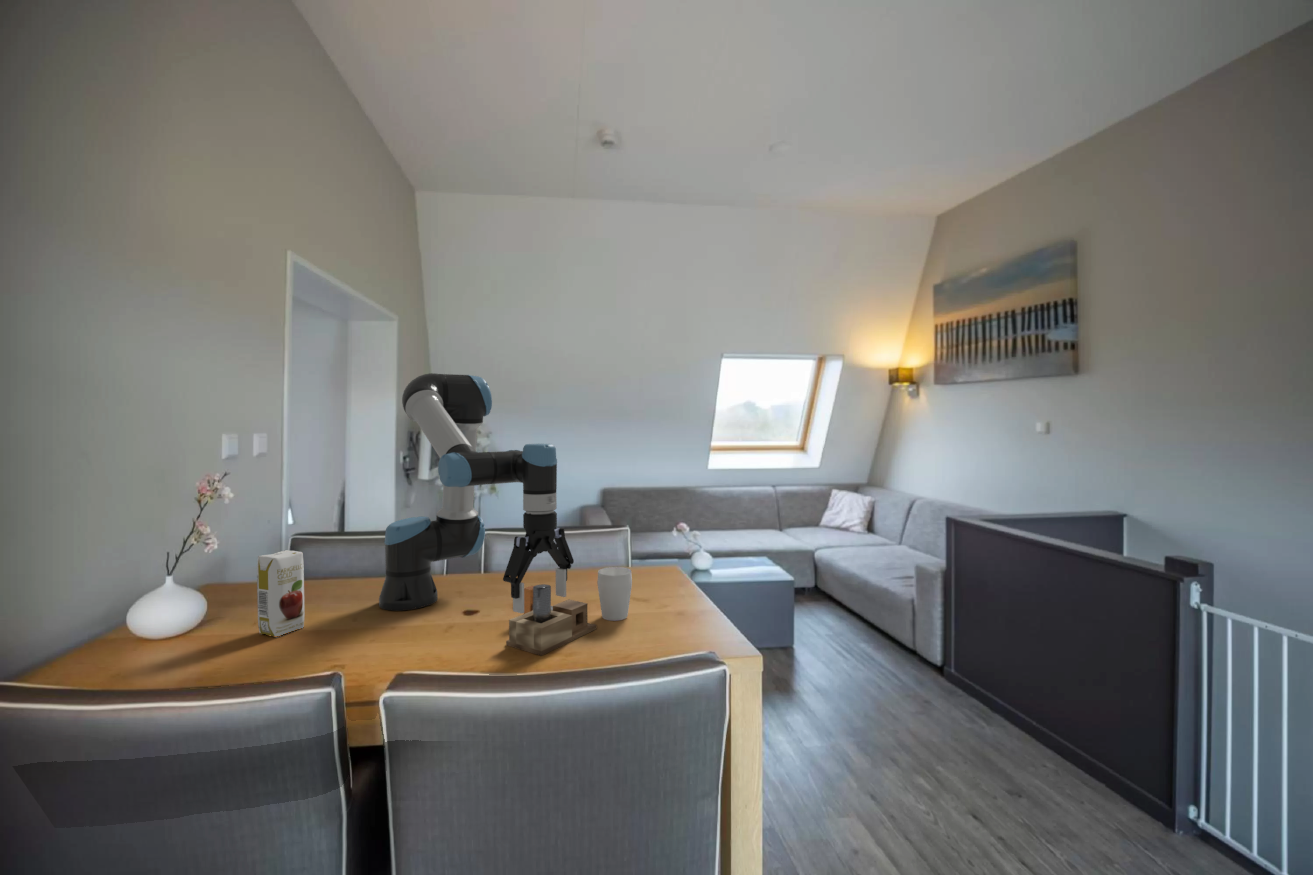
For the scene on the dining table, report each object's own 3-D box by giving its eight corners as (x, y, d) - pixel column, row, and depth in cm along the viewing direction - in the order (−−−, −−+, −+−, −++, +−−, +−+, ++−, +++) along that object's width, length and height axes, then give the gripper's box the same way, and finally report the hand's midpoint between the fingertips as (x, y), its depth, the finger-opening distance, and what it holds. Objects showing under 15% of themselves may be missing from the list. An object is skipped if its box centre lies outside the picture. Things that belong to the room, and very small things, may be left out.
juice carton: (253, 635, 136) (251, 556, 135) (288, 623, 144) (286, 548, 143) (275, 639, 133) (273, 559, 132) (309, 627, 141) (308, 551, 140)
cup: (627, 623, 143) (627, 576, 143) (593, 621, 145) (592, 574, 145) (635, 612, 152) (635, 567, 152) (603, 609, 154) (603, 565, 153)
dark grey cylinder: (529, 639, 130) (529, 587, 130) (541, 634, 133) (541, 583, 133) (541, 643, 128) (542, 590, 128) (554, 637, 131) (554, 586, 131)
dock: (506, 644, 130) (505, 616, 129) (562, 620, 146) (562, 595, 145) (541, 655, 124) (541, 626, 123) (596, 628, 140) (596, 602, 139)
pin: (523, 619, 145) (523, 588, 145) (532, 616, 147) (532, 585, 147) (566, 631, 137) (566, 597, 137) (574, 627, 140) (574, 594, 139)
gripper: (510, 520, 117) (511, 622, 118) (588, 505, 138) (588, 592, 139) (485, 517, 121) (486, 616, 122) (564, 503, 142) (565, 587, 143)
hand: (540, 603), depth 130 cm, fingers open, 13 cm apart
